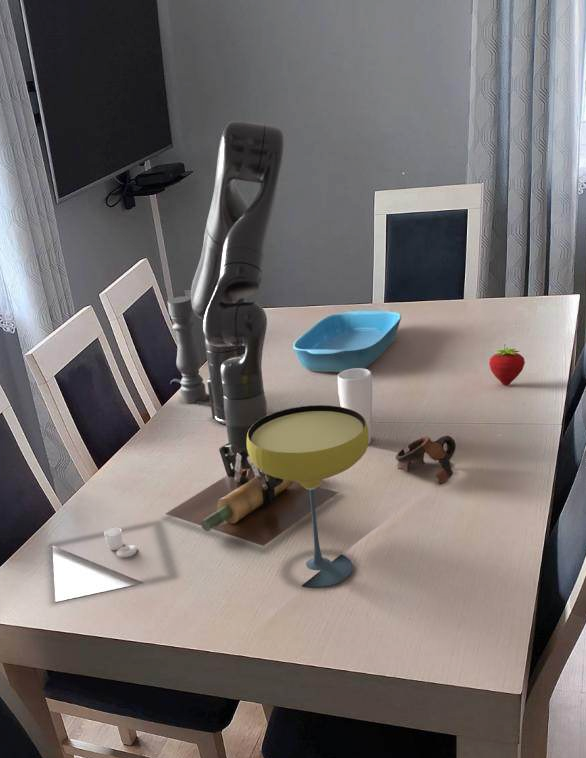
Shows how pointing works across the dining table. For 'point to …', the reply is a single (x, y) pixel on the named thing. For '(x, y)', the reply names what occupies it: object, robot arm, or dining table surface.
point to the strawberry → (506, 365)
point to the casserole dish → (347, 340)
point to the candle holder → (186, 350)
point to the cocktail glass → (310, 461)
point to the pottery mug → (433, 450)
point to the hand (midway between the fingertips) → (257, 501)
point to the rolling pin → (240, 503)
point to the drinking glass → (356, 392)
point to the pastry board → (260, 521)
